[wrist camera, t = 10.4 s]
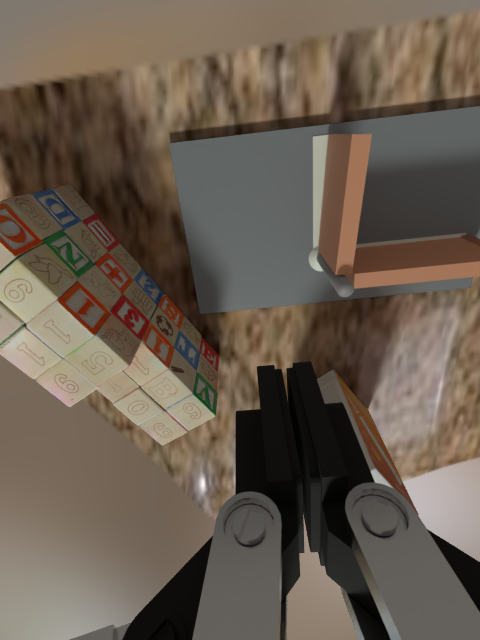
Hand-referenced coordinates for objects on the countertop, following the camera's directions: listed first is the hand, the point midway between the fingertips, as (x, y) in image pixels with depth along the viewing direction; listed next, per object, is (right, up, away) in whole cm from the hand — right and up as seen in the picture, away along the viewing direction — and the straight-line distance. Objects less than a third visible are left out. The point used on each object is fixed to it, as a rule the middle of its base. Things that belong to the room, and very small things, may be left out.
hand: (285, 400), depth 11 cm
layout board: (+7, +11, +19) cm, 23 cm away
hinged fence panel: (+6, +12, +18) cm, 22 cm away
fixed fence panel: (+13, +9, +20) cm, 25 cm away
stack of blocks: (-12, +5, +23) cm, 26 cm away
